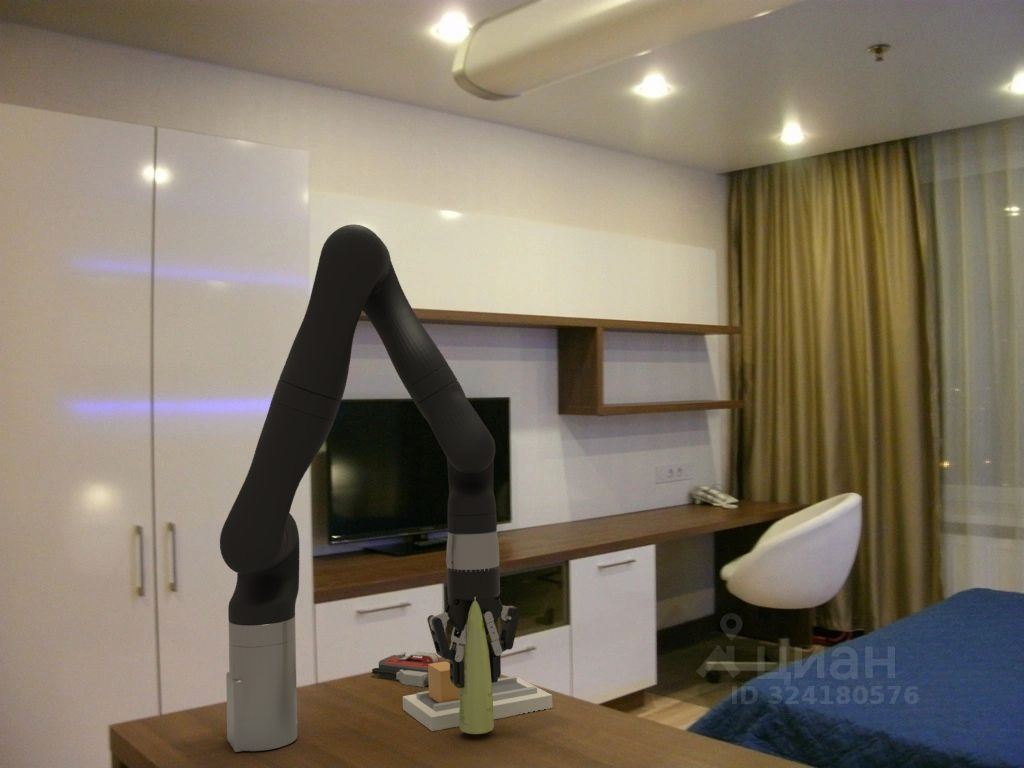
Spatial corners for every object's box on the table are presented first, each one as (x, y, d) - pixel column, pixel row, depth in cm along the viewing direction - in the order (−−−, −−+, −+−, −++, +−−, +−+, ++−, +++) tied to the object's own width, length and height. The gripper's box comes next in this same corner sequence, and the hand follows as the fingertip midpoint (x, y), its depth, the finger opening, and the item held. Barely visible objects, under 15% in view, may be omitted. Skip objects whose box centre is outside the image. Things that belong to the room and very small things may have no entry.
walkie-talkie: (364, 682, 161) (463, 694, 151) (363, 656, 161) (462, 667, 152) (392, 669, 168) (488, 680, 159) (392, 645, 169) (488, 655, 159)
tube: (504, 729, 130) (500, 590, 131) (479, 738, 127) (474, 596, 127) (477, 721, 134) (472, 586, 135) (451, 730, 131) (447, 591, 131)
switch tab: (441, 704, 137) (440, 671, 138) (428, 696, 142) (428, 664, 142) (459, 701, 139) (458, 668, 139) (446, 693, 143) (446, 661, 143)
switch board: (432, 731, 133) (431, 711, 133) (402, 709, 143) (402, 691, 144) (552, 708, 142) (551, 689, 142) (516, 689, 153) (516, 671, 153)
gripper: (436, 571, 125) (439, 699, 124) (529, 562, 131) (532, 682, 131) (416, 564, 132) (419, 685, 131) (505, 555, 138) (508, 670, 137)
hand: (476, 683), depth 131 cm, fingers closed on tube, 4 cm apart
